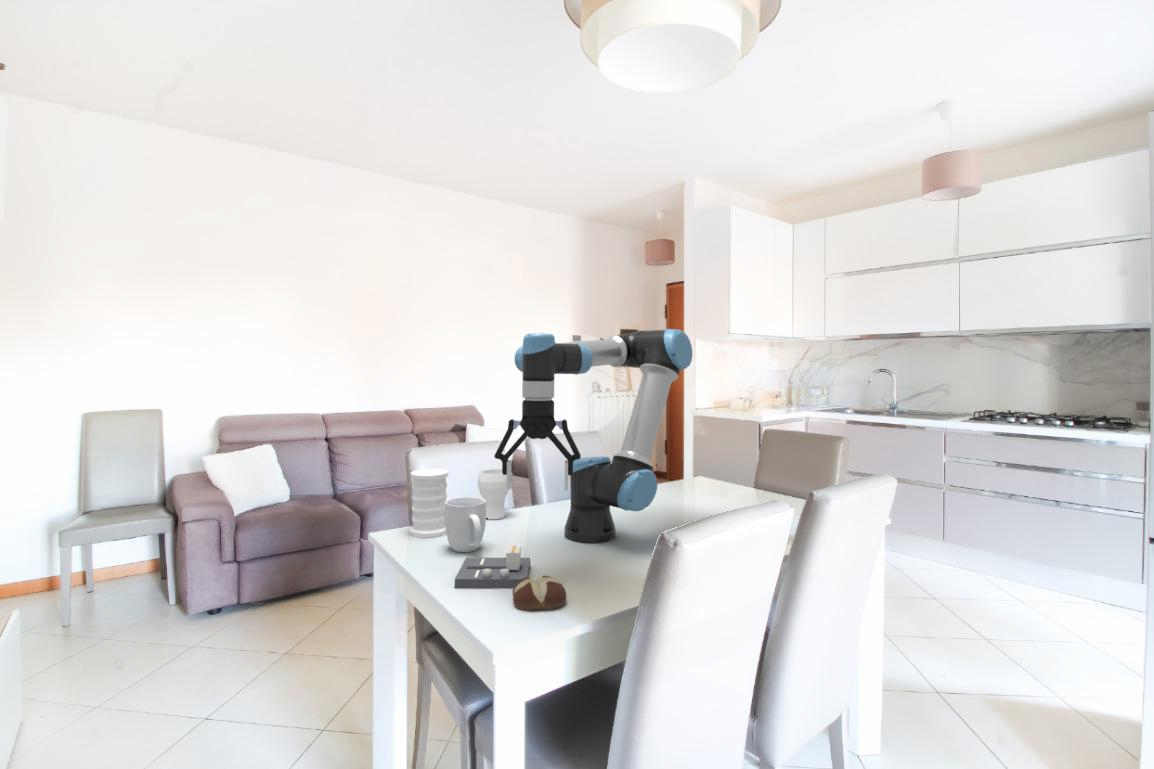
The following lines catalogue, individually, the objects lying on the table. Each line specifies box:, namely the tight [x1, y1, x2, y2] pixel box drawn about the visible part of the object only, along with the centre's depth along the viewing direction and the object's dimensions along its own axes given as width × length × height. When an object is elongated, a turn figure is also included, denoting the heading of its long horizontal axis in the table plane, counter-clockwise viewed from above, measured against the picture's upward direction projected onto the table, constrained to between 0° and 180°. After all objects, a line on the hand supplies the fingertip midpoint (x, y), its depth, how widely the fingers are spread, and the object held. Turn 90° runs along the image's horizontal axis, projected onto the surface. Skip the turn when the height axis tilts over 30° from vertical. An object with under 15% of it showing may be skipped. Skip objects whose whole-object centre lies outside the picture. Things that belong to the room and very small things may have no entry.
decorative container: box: [409, 468, 449, 539], centre depth 165 cm, size 12×12×18 cm
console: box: [454, 557, 531, 589], centre depth 131 cm, size 16×14×4 cm
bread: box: [512, 575, 567, 611], centre depth 118 cm, size 11×11×5 cm
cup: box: [477, 468, 510, 520], centre depth 182 cm, size 11×11×15 cm
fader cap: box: [505, 545, 522, 570], centre depth 131 cm, size 3×5×4 cm, turn 1°
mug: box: [445, 496, 487, 553], centre depth 149 cm, size 15×11×13 cm
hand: (537, 488), depth 131 cm, fingers open, 13 cm apart
